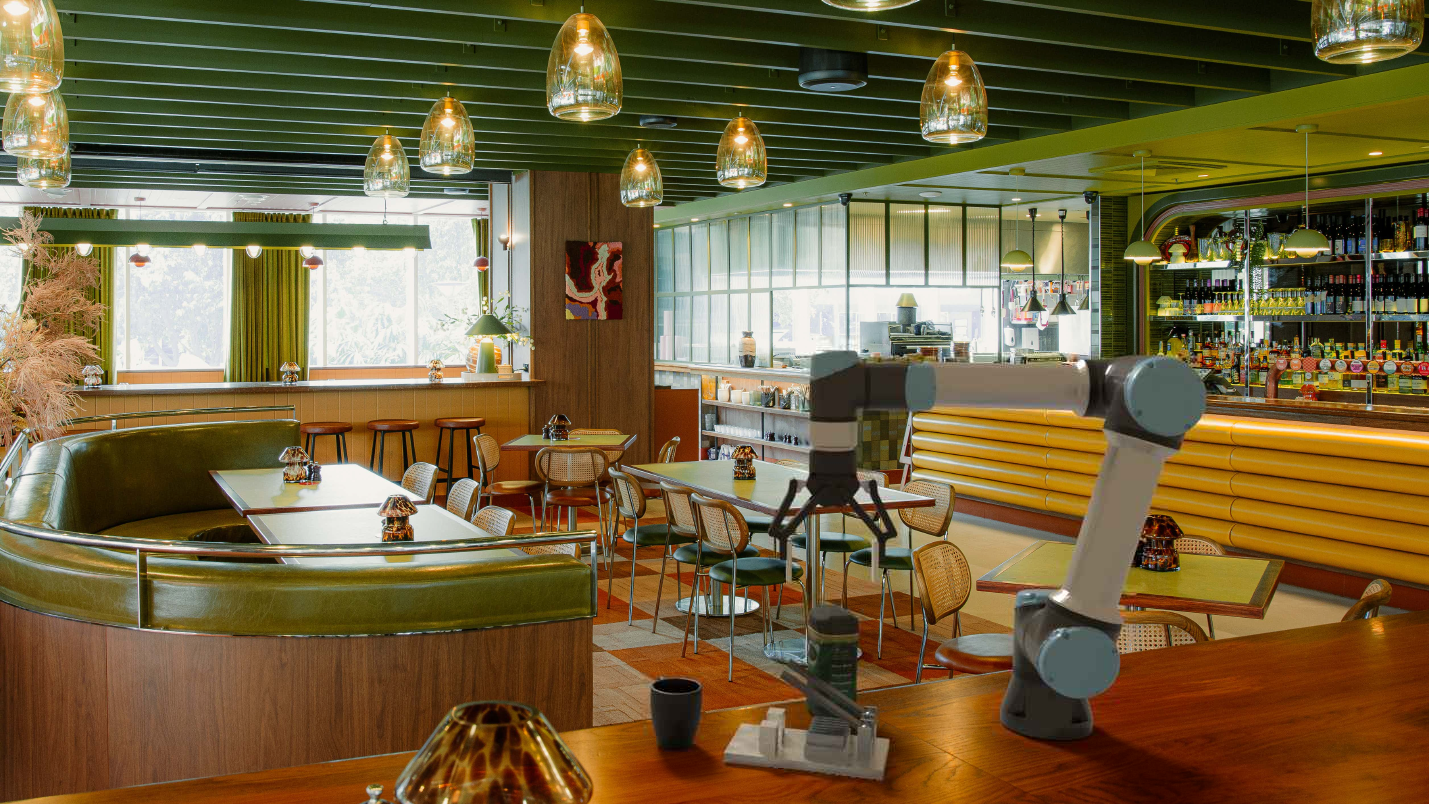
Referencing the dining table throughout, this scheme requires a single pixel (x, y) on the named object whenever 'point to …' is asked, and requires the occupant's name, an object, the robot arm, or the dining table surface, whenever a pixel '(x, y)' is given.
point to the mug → (675, 711)
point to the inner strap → (828, 688)
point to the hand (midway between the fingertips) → (831, 581)
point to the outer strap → (823, 701)
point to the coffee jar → (833, 655)
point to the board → (796, 752)
